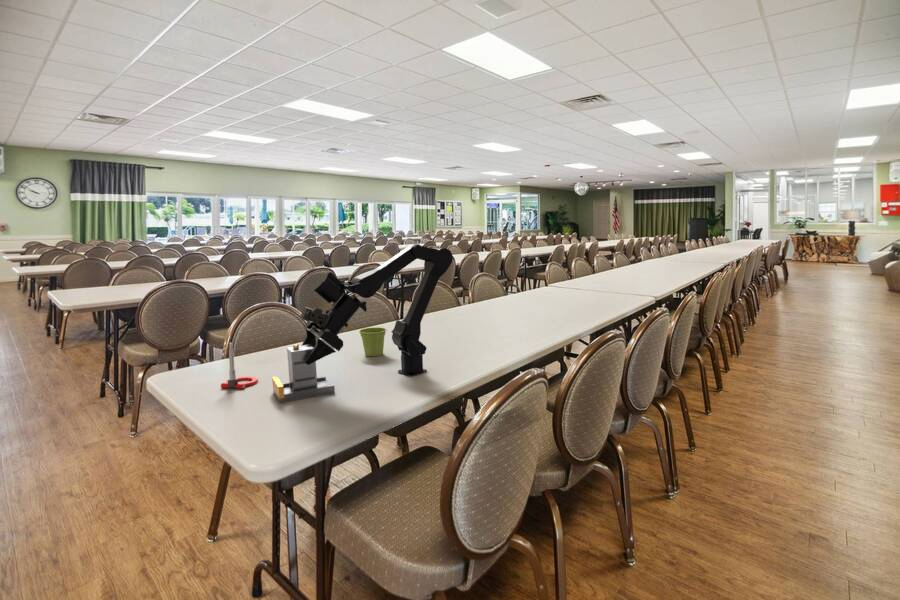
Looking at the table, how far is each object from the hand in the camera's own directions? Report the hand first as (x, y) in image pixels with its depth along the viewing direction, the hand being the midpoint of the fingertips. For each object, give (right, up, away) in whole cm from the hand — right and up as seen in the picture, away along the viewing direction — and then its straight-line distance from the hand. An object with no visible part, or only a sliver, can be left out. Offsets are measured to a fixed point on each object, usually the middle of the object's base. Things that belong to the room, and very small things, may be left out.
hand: (302, 359), depth 124 cm
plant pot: (+13, -3, +38) cm, 40 cm away
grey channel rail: (0, -9, +1) cm, 9 cm away
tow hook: (-21, -8, +10) cm, 24 cm away
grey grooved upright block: (0, -8, +1) cm, 8 cm away
